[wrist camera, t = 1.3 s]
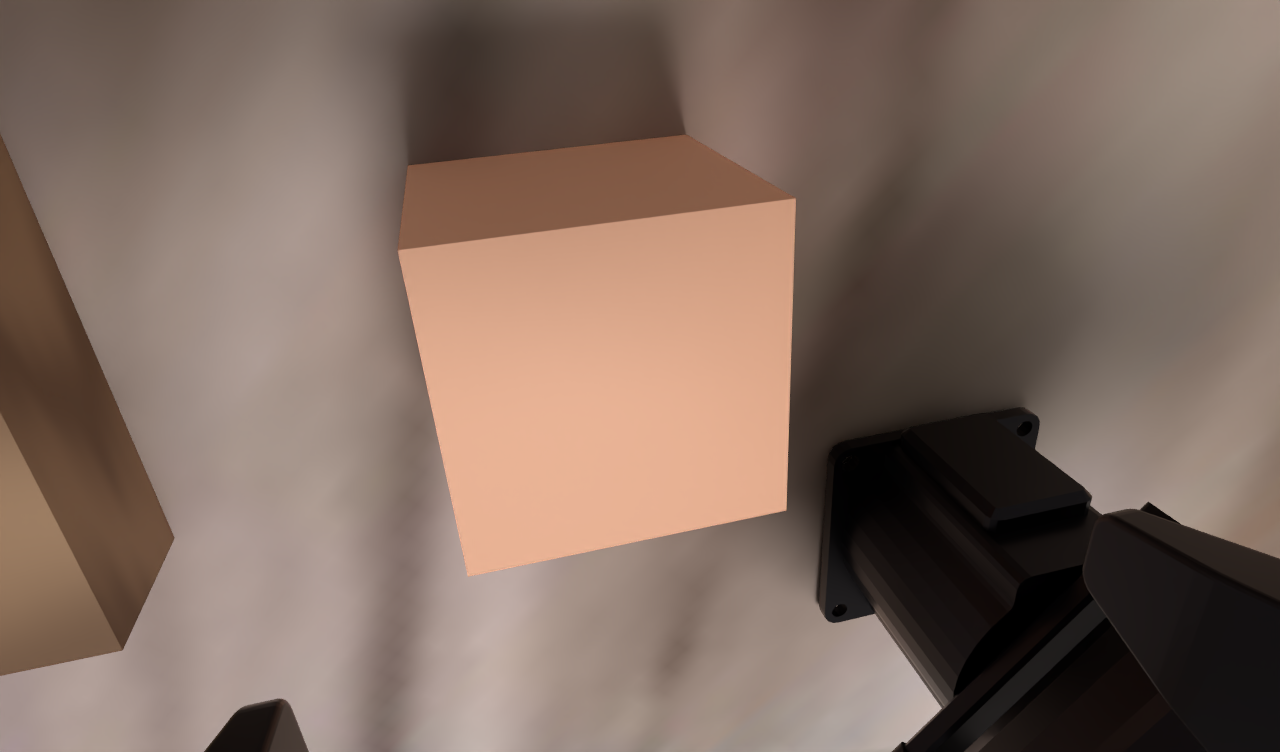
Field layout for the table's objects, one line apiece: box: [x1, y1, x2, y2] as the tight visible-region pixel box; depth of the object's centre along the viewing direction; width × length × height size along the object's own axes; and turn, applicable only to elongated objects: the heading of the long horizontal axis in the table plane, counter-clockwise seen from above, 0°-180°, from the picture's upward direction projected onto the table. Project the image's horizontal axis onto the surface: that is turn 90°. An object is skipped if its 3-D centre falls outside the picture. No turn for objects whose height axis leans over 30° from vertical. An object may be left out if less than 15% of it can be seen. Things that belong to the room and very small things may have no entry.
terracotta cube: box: [398, 135, 796, 577], centre depth 15 cm, size 6×6×6 cm
